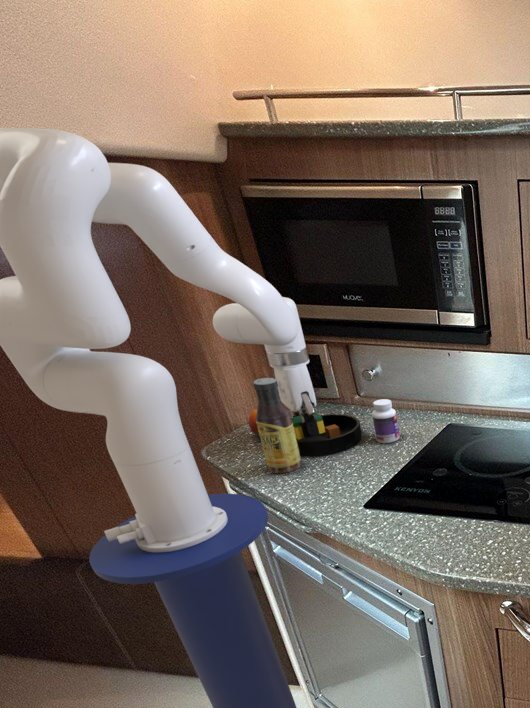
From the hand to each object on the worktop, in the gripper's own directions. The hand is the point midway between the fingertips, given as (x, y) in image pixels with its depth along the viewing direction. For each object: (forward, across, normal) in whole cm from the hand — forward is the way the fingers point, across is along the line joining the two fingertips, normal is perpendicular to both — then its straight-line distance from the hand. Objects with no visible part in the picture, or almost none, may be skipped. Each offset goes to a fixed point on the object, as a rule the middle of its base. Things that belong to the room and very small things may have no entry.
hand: (308, 432), depth 116 cm
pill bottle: (+4, +9, +15) cm, 17 cm away
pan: (+3, -3, +3) cm, 5 cm away
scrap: (+3, 0, +5) cm, 6 cm away
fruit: (+4, -12, -5) cm, 13 cm away
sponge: (0, 0, 0) cm, 0 cm away
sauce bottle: (+3, +8, -8) cm, 12 cm away
